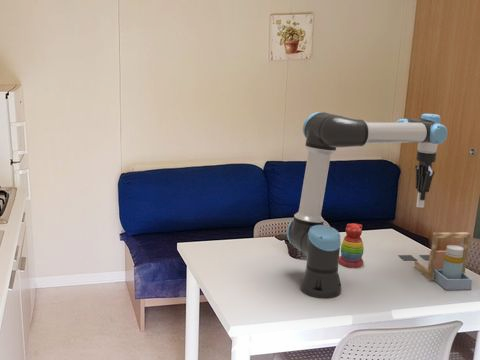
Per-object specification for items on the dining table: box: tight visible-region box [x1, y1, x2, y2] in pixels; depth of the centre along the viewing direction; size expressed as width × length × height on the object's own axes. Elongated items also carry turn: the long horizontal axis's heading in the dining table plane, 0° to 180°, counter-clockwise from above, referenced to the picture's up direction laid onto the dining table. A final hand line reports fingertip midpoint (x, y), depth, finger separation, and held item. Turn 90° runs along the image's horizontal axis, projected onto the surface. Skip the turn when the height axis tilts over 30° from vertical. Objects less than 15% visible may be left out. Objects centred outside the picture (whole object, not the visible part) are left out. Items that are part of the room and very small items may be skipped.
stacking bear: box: [338, 222, 365, 269], centre depth 229 cm, size 11×10×18 cm
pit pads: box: [398, 254, 430, 262], centre depth 241 cm, size 16×6×1 cm, turn 98°
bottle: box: [442, 244, 464, 279], centre depth 213 cm, size 7×7×15 cm
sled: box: [427, 250, 473, 291], centre depth 216 cm, size 10×18×9 cm, turn 8°
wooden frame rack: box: [413, 231, 472, 282], centre depth 222 cm, size 15×14×20 cm
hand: (419, 206), depth 230 cm, fingers closed
